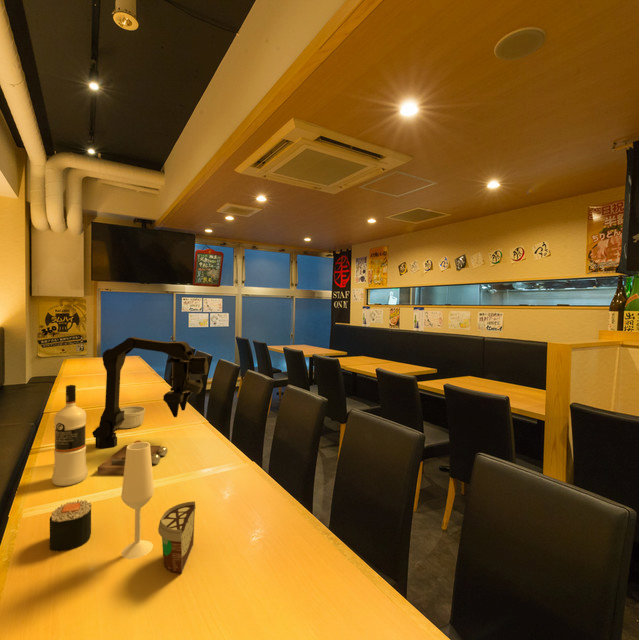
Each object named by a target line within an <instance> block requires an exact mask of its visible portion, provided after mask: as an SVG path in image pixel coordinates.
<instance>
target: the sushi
mask: <svg viewBox="0 0 639 640" xmlns="http://www.w3.org/2000/svg"><path fill="white" fill-rule="evenodd" d="M92 506H93V504H92V502H91V501H89V502H88V500H79V499H76V501H75V500H74V501H69V502H66V503H64V504H61V505H60V506H57V508H55V510H53V511H52V512H51V514H50V517H49V550H50V551H52V552H64V551H68V550H69V551H70V550H73V549H77V548H79V547H81V546H83V545H86V543H88V542H89V540H90V538H91V535H92Z"/></svg>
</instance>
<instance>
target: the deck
mask: <svg viewBox="0 0 639 640" xmlns="http://www.w3.org/2000/svg"><path fill="white" fill-rule="evenodd" d="M128 445H129V444H128ZM128 445H127V444H125V445H124V446H123V447H122V448H119V450H117V451H116V452H114V454H113V455H111V456H109V458H107V459H106V460H105V461H104V462H102V463H101V464H99V466H97V475H98V476H124V468H125V459H126V450H127V446H128ZM160 447H162V446H161V445H151V444H150V450H151V456H152V455H154V454H158V449H159V448H160Z"/></svg>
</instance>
